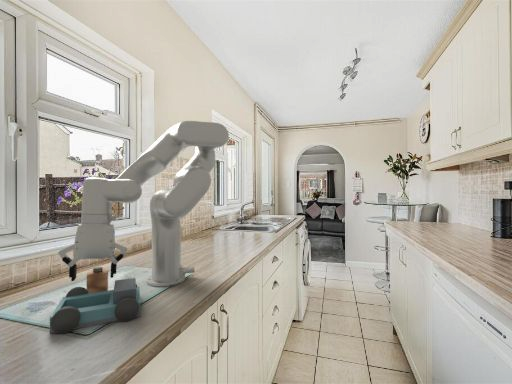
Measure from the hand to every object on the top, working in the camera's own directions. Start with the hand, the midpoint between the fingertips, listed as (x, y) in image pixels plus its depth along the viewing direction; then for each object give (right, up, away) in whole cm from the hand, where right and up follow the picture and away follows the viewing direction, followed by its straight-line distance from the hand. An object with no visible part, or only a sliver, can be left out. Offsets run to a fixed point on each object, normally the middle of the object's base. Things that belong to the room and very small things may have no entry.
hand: (93, 278), depth 77 cm
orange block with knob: (+1, -5, +1) cm, 5 cm away
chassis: (+9, -5, -11) cm, 15 cm away
